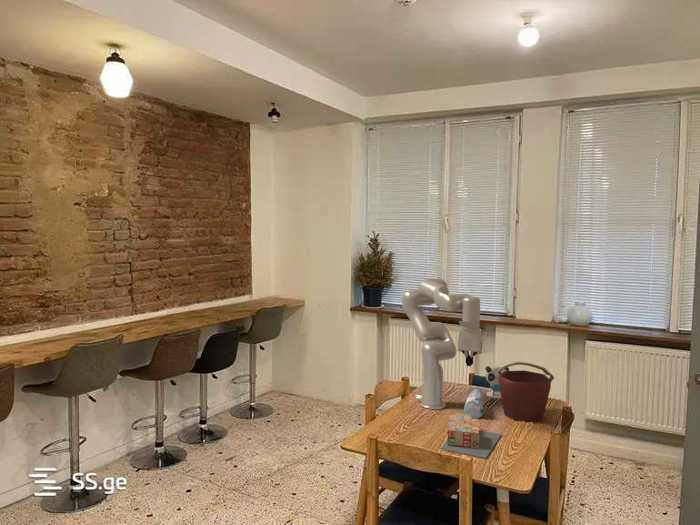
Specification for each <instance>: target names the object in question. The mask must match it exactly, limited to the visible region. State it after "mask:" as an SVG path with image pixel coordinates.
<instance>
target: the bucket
mask: <svg viewBox="0 0 700 525" xmlns="http://www.w3.org/2000/svg"><path fill="white" fill-rule="evenodd" d="M516 365H517V366H518V365H519V366H527V367H528V366H529V367H532V368H535V369H537V370H541V371H542V372H543V373H540V372H535V371H529V370H525V369H524V370H509V371H504V372H503V373H501V372H500V371H501V370H502V369H504V368H507V367H508V368H509V367H512V366H513V367H514V366H516ZM501 367H502V368H501V369H500V370H499V371H498V374H499V387H500V393H501V398H500V399H501V402H502V409H503V413H504V416H506V418H509V419H511V420H512V419H513V421H514V420H515V422H521V421H524V422H523V423H530V422H533V423H535V421H536V422H539V421H538V420H540V421H542V420H541V419H543V420H544V416H545V412H546V409H547V403H548V400H549V395H550V391H551V387H552V385H551V384H552V382H553V381H554V379H555V377H554V375H553V374H552V373H551V372H550V371H548V369H547V368H545V367H544V366H540V365H537V364H533V363H531V362H523V361H521V362H520V361H516V362H513V363H512V362H511V363H508V364H506V365H504V366H501Z"/></svg>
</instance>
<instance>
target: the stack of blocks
mask: <svg viewBox="0 0 700 525" xmlns="http://www.w3.org/2000/svg"><path fill="white" fill-rule="evenodd" d="M479 430H480V422H476V421H472V418H471V414H466V413H456V412H455V413H454V412H450V413H449V419H448V426H447V440H448V443H447V445H451V446H462V447H469V448H479Z"/></svg>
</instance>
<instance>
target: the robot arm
mask: <svg viewBox="0 0 700 525" xmlns="http://www.w3.org/2000/svg"><path fill="white" fill-rule="evenodd" d="M448 288H449V287H448V284H447V282H446V281H445V280H444V279H443V278H440V277H439V278H425V279H422V280H421V281H420V282H419V283H418V286H417V289H409V290H408V291H407V290H406V291H405V292H404V293H403V294H402V297H401V304H402V308H403V311H404V313H405V314H406V316H407V317H408V319H409V320H410V322H411V326H412V328H413V330H414V333H415V334H416V336H417V338H418V340H419V341H420V342H422V343H424V344H423V345H422V346H421V349H420V350H421V351H420V352H421V357H422V358H421V359H422V363H423V365H422V366H423V368H422V369H423V370H422V372H423V374H422V375H423V378H422V380H423V382H422V383H423V386H422V387H423V388H422V392H423V393H422V394H415V399H416V400H420V402H419V405H421V406H420V407H421V408H423V407H424V408H423V409H427V408H428V409H427V410H442V409H445V408H446V407H447V404H446V402H445V401H444V400H443V399H444V398H443V394H444V393H443V392H444V389H443V388H444V370H443V367H442V365H441V363H440V362H441V361H447V360H452V359H454V358H455V357H456V354H457V351H458V352H460V353H462V354H463V355H464V357H465V364H466V367H471V366H472V365H474V357H475V356H476V355H481V354H482V353H483V350H482V349H483V335H482V329H481V328H480V322H481V321H480V320H481V319H480V316H481V300H480V298H479V297H478V296H473V295H470V294H468V293H456V294H450V293H449V289H448ZM434 304H435V306H436V307H437V308H439V309H441V310H442V311H445V312H458V311H459V312H460V311H461V312H462V313H461V314H462V315H461V316H462V318H461V320H459V321H458V324H459V325H461V326H460V327H459V329H458V330H459V331H458V335H457V343H456V344H457V346H456V345H455V343H454V340H453V338H452V336H451V334H450V332H449V329H448V327H447V326H446V324H444V323H443V322H440V321H430V320H429V318H428V316H427V314H426V313H425V311H423V309H421V308H420V307H424V306H425V307H426V306H432V305H434ZM456 348H457V349H456Z"/></svg>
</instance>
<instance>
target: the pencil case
mask: <svg viewBox="0 0 700 525" xmlns="http://www.w3.org/2000/svg"><path fill="white" fill-rule="evenodd" d="M485 396H486V395H485V391H484V390H483V389H482V388H480V387H477V386H475V387H471V388H470V389H468V390H467V394H466V401H465V404H464V406H463V407H464V408H463V409H464V414H471V419H479V418H481V417H482V416H483V414H484V402H485Z"/></svg>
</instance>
